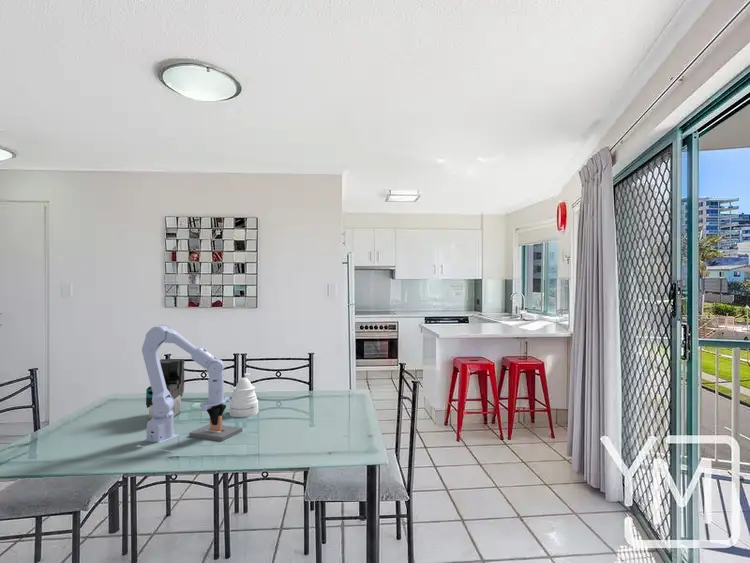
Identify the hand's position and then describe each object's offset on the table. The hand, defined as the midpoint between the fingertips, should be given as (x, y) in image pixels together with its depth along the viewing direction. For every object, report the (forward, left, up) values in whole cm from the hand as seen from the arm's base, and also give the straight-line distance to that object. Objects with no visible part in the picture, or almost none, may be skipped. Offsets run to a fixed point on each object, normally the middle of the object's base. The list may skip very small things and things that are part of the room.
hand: (216, 424), depth 184 cm
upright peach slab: (0, 0, -3) cm, 3 cm away
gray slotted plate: (0, 0, -4) cm, 4 cm away
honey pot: (+30, +9, -5) cm, 32 cm away
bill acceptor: (+12, +38, -5) cm, 40 cm away
